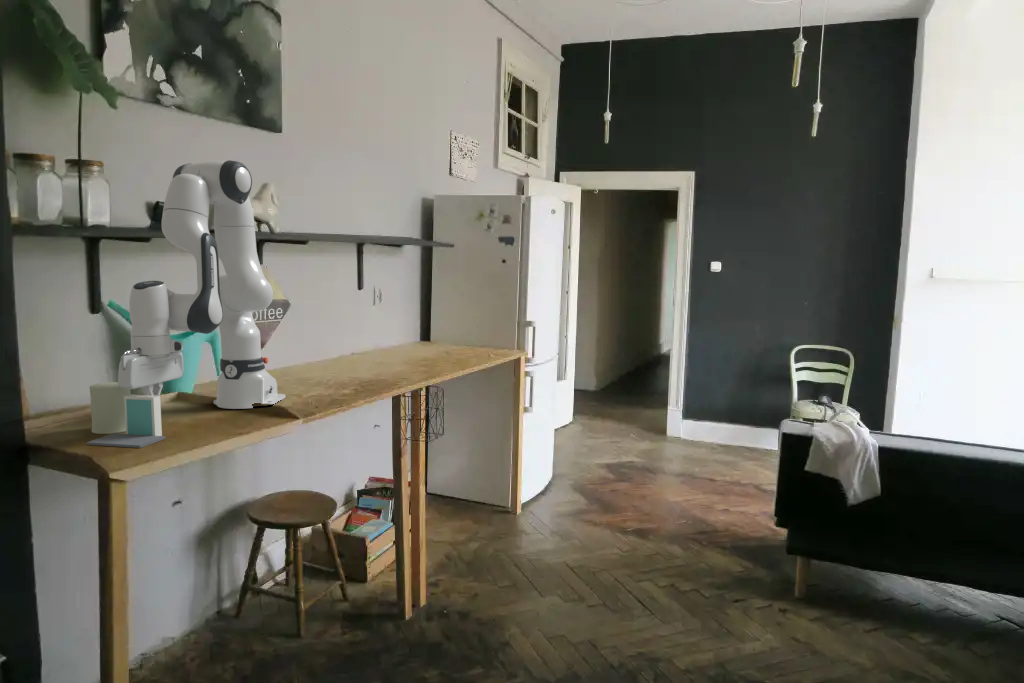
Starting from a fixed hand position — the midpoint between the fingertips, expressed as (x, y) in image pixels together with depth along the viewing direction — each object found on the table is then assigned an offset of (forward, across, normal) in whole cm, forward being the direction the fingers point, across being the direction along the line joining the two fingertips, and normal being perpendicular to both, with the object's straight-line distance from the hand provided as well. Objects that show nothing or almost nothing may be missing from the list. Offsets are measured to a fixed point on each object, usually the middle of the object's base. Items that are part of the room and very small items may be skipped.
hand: (153, 401), depth 181 cm
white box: (+8, -4, 0) cm, 9 cm away
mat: (+8, -10, 0) cm, 13 cm away
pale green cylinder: (+8, 0, +12) cm, 14 cm away
